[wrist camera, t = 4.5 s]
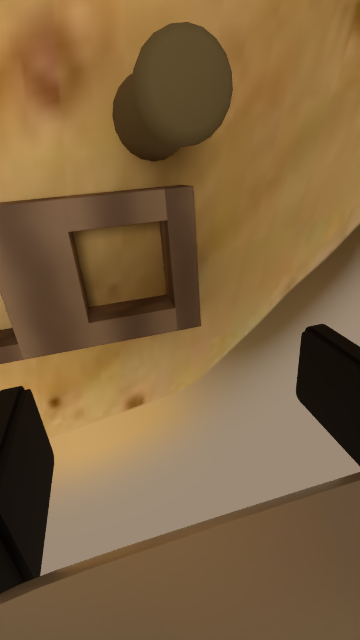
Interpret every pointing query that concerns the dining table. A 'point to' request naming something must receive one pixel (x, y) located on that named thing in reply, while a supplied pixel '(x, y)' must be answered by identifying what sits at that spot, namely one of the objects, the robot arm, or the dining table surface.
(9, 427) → the robot arm
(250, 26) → the dining table surface
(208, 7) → the dining table surface
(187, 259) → the socket board
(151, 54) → the olive peg
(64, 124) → the dining table surface
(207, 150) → the dining table surface
